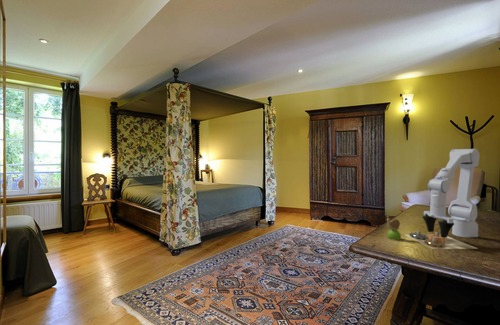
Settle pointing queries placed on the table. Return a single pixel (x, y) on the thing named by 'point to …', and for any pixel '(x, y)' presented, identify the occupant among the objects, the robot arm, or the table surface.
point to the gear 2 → (431, 243)
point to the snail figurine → (393, 229)
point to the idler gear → (441, 239)
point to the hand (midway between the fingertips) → (437, 234)
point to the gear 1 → (419, 236)
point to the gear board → (449, 242)
